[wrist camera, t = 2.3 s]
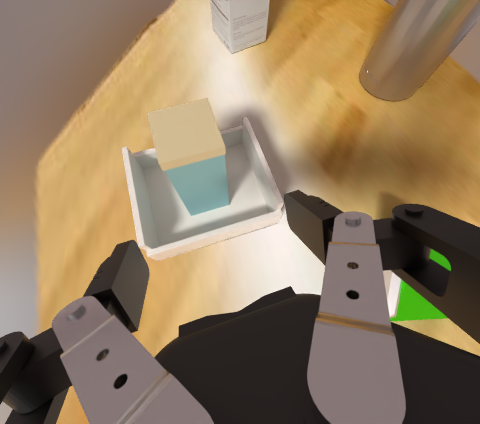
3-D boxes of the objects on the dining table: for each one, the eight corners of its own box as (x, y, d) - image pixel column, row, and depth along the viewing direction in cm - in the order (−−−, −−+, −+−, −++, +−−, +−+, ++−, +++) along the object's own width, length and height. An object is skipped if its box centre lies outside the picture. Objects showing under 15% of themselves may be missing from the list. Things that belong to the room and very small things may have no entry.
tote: (244, 141, 33) (245, 112, 28) (277, 223, 28) (286, 207, 23) (140, 169, 31) (120, 144, 26) (158, 261, 27) (139, 252, 22)
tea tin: (218, 171, 30) (207, 98, 19) (230, 205, 29) (225, 146, 17) (181, 181, 30) (146, 112, 19) (190, 217, 28) (158, 164, 17)
